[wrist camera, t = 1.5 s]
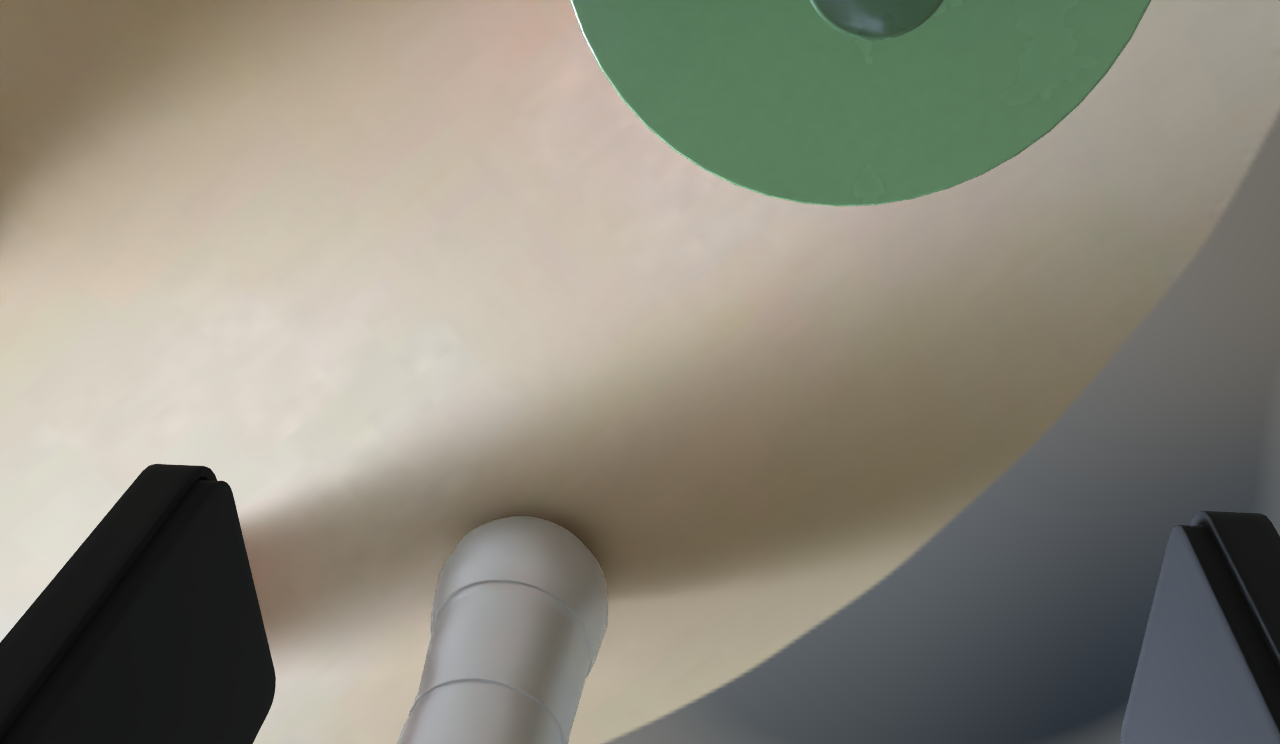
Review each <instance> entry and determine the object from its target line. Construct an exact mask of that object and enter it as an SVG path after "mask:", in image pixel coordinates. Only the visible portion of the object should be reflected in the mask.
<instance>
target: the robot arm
mask: <svg viewBox="0 0 1280 744" xmlns="http://www.w3.org/2000/svg"><path fill="white" fill-rule="evenodd" d="M275 681H276V678H275V670H274V666H273V662H272V658H271V654H270V649H269V645H268V641H267V637H266V632H265V628H264V624H263V620H262V615H261V611H260V607H259V603H258V599H257V594H256V590H255V586H254V582H253V577H252V573H251V569H250V565H249V560H248V556H247V552H246V548H245V544H244V539H243V535H242V531H241V527H240V522H239V518H238V514H237V510H236V505H235V501H234V497H233V493H232V490H231V488H230V486H229V485H228V483H226V482H224V481H217V479H216V476H215V474H214V473H213V472H212V470H211V469H210V468H207V467H205V466H187V465H165V464H154V465H150V466H148V467H147V468H146V469H145V470H143V471H142V473H141V474H140V475H139V476H138V477H137V479H136V480H135V481H134V482H133V483H132V485H131V486H130V487H129V488H128V489H127V491H126V492H125V493H124V494H123V495H122V497H121V498H120V499H119V500H118V502H117V503H116V504H115V505H114V506H113V508H112V509H111V510H110V511H109V512H108V514H107V515H106V516H105V517H104V518H103V520H102V521H101V522H100V523H99V524H98V526H97V527H96V528H95V529H94V530H93V532H92V533H91V534H90V535H89V536H88V538H87V539H86V540H85V541H84V543H83V544H82V545H81V546H80V547H79V549H78V550H77V551H76V552H75V553H74V555H73V556H72V557H71V558H70V559H69V561H68V562H67V563H66V564H65V565H64V567H63V568H62V569H61V570H60V571H59V573H58V574H57V575H56V576H55V577H54V579H53V580H52V581H51V582H50V583H49V585H48V586H47V587H46V588H45V590H44V591H43V592H42V593H41V594H40V596H39V597H38V598H37V599H36V600H35V602H34V603H33V604H32V605H31V606H30V608H29V609H28V610H27V611H26V612H25V614H24V615H23V616H22V617H21V618H20V620H19V621H18V622H17V623H16V624H15V626H14V627H13V628H12V629H11V631H10V632H9V633H8V634H7V635H6V637H5V638H4V639H3V640H2V641H1V643H0V744H253V742H254V740H255V738H256V736H257V734H258V732H259V730H260V728H261V726H262V724H263V722H264V720H265V718H266V716H267V714H268V712H269V710H270V708H271V705H272V702H273V698H274V693H275ZM1121 744H1280V536H1279V535H1278V533H1277V531H1276V529H1275V528H1274V526H1273V524H1272V523H1271V521H1270V520H1269V519H1268V518H1267V516H1265V515H1262V514H1257V513H1235V512H1234V513H1233V512H1212V511H1200V512H1198V513H1196V514H1195V516H1194V517H1193V518H1192V520H1191V523H1190V526H1184V525H1178V526H1175V527H1174V528H1173V530H1172V531H1171V534H1170V537H1169V540H1168V544H1167V549H1166V552H1165V556H1164V560H1163V564H1162V568H1161V572H1160V576H1159V580H1158V584H1157V588H1156V592H1155V596H1154V601H1153V604H1152V608H1151V612H1150V616H1149V620H1148V625H1147V628H1146V632H1145V636H1144V641H1143V644H1142V648H1141V652H1140V657H1139V661H1138V665H1137V668H1136V673H1135V677H1134V681H1133V685H1132V689H1131V693H1130V697H1129V701H1128V705H1127V709H1126V713H1125V717H1124V721H1123V725H1122V731H1121Z"/></svg>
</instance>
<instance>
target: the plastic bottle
mask: <svg viewBox="0 0 1280 744" xmlns="http://www.w3.org/2000/svg"><path fill="white" fill-rule="evenodd" d="M607 621H608V604H607V590H606V584H605V578H604V575H603V572H602V570H601V567H600V565H599V563H598V562H597V560H596V559H595V557H594V556H593V554H592V553H591V551H590V550H589V549H588V548H587V547H586V546H585V545H584V544H583V543H582V542H581V541H580V540H579V539H578V538H577V537H576V536H575V535H574V534H572V533H571V532H569V531H568V530H566V529H565V528H563V527H561V526H559V525H557V524H555V523H553V522H550V521H547V520H544V519H541V518H536V517H529V516H512V517H507V518H502V519H498V520H494V521H490V522H488V523H486V524H483V525H481V526H478V527H477V528H475V529H474V530H472V531H471V532H469V533H468V534H466V536H465V537H464V538H463V539H462V540H461V541H460V542H459V543H458V545H457V546H456V548H455V549H454V551H453V552H452V554H451V555H450V557H449V558H448V560H447V561H446V563H445V564H444V566H443V568H442V570H441V572H440V574H439V576H438V580H437V584H436V589H435V595H434V601H433V607H432V613H431V638H430V642H429V647H428V651H427V655H426V660H425V664H424V669H423V673H422V677H421V682H420V686H419V691H418V693H417V696H416V698H415V701H414V703H413V706H412V708H411V710H410V714H409V718H408V719H407V721H406V723H405V725H404V727H403V730H402V732H401V735H400V737H399V740H398V742H397V744H568V743H569V735H570V731H571V728H572V724H573V721H574V718H575V714H576V711H577V707H578V704H579V700H580V697H581V693H582V690H583V686H584V683H585V679H586V678H587V676H588V674H589V672H590V670H591V668H592V666H593V664H594V662H595V660H596V657H597V654H598V651H599V648H600V645H601V643H602V640H603V637H604V634H605V631H606V628H607Z"/></svg>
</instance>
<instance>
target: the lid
mask: <svg viewBox="0 0 1280 744" xmlns="http://www.w3.org/2000/svg"><path fill="white" fill-rule="evenodd" d="M570 1H571V3H572V6H573V9H574V11H575V14H576V17H577V20H578V22H579V25H580V28H581V30H582V33H583V35H584V37H585V39H586V41H587V43H588V45H589V47H590V49H591V51H592V53H593V55H594V57H595V58H596V60H597V62H598V64H599V66H600V68H601V70H602V71H603V72H604V74H605V75H606V77H607V78H608V80H609V81H610V83H611V84H612V85H613V87H614V88H615V90H616V91H617V93H618V94H619V96H620V97H621V98H622V100H623V101H624V102H625V103H626V104H627V105H628V106H629V107H630V109H631V110H632V111H633V112H634V113H635V114H636V115H637V116H638V117H639V119H640V120H641V121H642V122H643V123H644V124H645V125H646V126H647V127H648V128H649V129H650V130H651V131H653V132H654V133H655V134H656V135H657V136H658V137H660V138H661V139H662V140H663V141H664V142H665V143H667V144H668V145H669V146H670V147H671V148H672V149H674V150H675V151H676V152H678V153H680V154H681V155H683V156H684V157H686V158H687V159H689V160H690V161H692V162H693V163H695V164H696V165H698V166H699V167H701V168H702V169H704V170H706V171H708V172H710V173H712V174H714V175H716V176H718V177H720V178H722V179H724V180H726V181H728V182H730V183H733V184H735V185H737V186H740V187H743V188H746V189H749V190H752V191H755V192H758V193H761V194H764V195H766V196H770V197H775V198H779V199H784V200H789V201H794V202H799V203H804V204H816V205H829V206H860V205H878V204H884V203H890V202H896V201H902V200H909V199H913V198H917V197H920V196H924V195H927V194H931V193H934V192H938V191H941V190H945V189H948V188H951V187H953V186H955V185H958V184H960V183H963V182H965V181H967V180H970V179H972V178H975V177H977V176H979V175H982V174H984V173H986V172H987V171H989V170H991V169H993V168H995V167H996V166H998V165H1000V164H1002V163H1004V162H1005V161H1007V160H1009V159H1011V158H1012V157H1014V156H1016V155H1018V154H1019V153H1020V152H1022V151H1023V150H1025V149H1026V148H1027V147H1029V146H1030V145H1032V144H1033V143H1034V142H1036V141H1037V140H1038V139H1040V138H1041V137H1043V136H1044V135H1045V134H1047V133H1048V132H1050V131H1051V130H1052V129H1053V128H1054V127H1055V126H1056V125H1057V124H1058V123H1059V122H1061V121H1062V120H1063V119H1064V118H1065V117H1066V116H1067V115H1068V114H1069V113H1070V112H1072V111H1073V110H1074V109H1075V108H1076V107H1077V106H1078V105H1079V104H1080V103H1081V102H1082V101H1083V100H1084V99H1085V97H1086V96H1087V95H1088V94H1089V93H1090V92H1091V91H1092V89H1093V88H1094V87H1095V86H1096V85H1097V84H1098V83H1099V81H1100V80H1101V79H1102V78H1103V77H1104V76H1105V75H1106V74H1107V72H1108V71H1109V69H1110V68H1111V66H1112V65H1113V63H1114V62H1115V61H1116V59H1117V58H1118V56H1119V55H1120V53H1121V52H1122V51H1123V49H1124V48H1125V46H1126V45H1127V43H1128V42H1129V40H1130V39H1131V37H1132V35H1133V34H1134V32H1135V30H1136V28H1137V26H1138V24H1139V22H1140V20H1141V19H1142V17H1143V15H1144V13H1145V11H1146V9H1147V7H1148V6H1149V4H1150V2H1151V0H570Z"/></svg>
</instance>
